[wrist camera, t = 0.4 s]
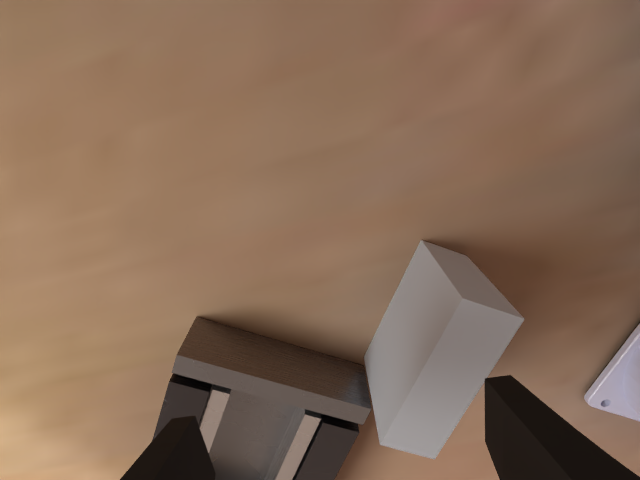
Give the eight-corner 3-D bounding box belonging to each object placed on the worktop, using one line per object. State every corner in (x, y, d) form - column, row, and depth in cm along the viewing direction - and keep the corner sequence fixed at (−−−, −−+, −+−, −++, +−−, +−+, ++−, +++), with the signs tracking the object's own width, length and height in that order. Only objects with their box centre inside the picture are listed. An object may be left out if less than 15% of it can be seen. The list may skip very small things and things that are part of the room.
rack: (363, 365, 21) (372, 414, 18) (291, 512, 25) (287, 572, 22) (196, 316, 19) (174, 359, 16) (149, 478, 23) (123, 537, 20)
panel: (466, 255, 19) (524, 318, 13) (405, 368, 21) (434, 459, 16) (420, 239, 18) (462, 298, 13) (363, 356, 21) (379, 444, 15)
